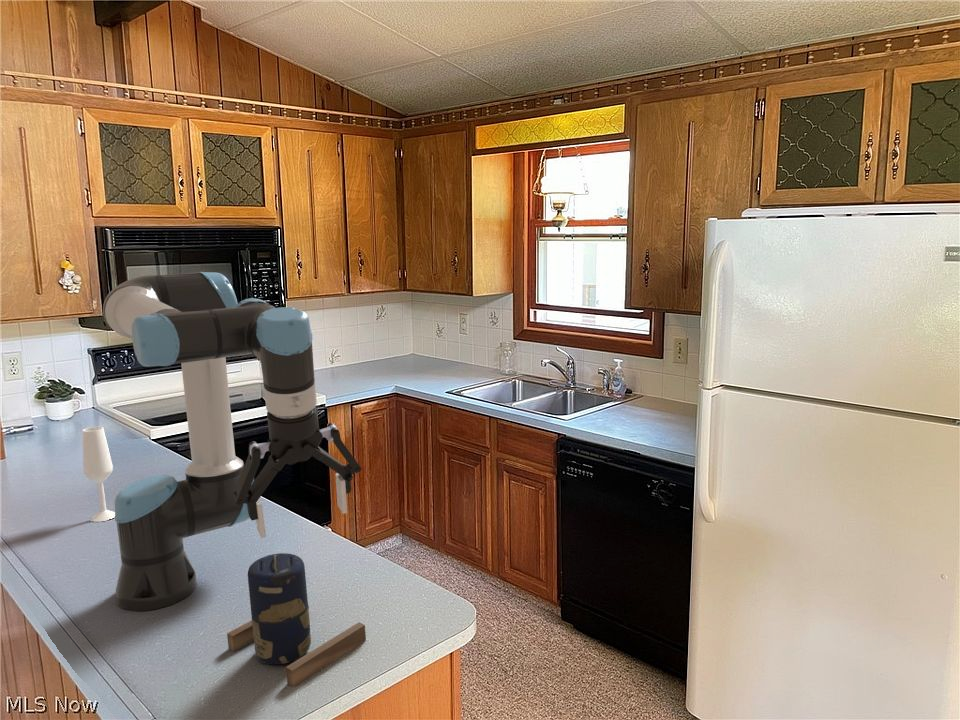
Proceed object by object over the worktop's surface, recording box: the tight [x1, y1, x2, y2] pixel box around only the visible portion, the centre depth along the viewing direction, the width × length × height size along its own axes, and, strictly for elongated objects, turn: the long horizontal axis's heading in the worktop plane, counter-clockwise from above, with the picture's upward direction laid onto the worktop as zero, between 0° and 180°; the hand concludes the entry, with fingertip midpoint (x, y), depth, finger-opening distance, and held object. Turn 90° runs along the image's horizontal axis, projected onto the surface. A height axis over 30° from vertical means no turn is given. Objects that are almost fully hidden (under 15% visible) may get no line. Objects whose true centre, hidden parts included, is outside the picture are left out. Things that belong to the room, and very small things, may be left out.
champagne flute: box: [82, 425, 115, 522], centre depth 181 cm, size 7×7×24 cm
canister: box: [247, 552, 312, 665], centre depth 121 cm, size 10×10×18 cm
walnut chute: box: [226, 619, 367, 688], centre depth 125 cm, size 18×16×3 cm
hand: (303, 520), depth 116 cm, fingers open, 13 cm apart
